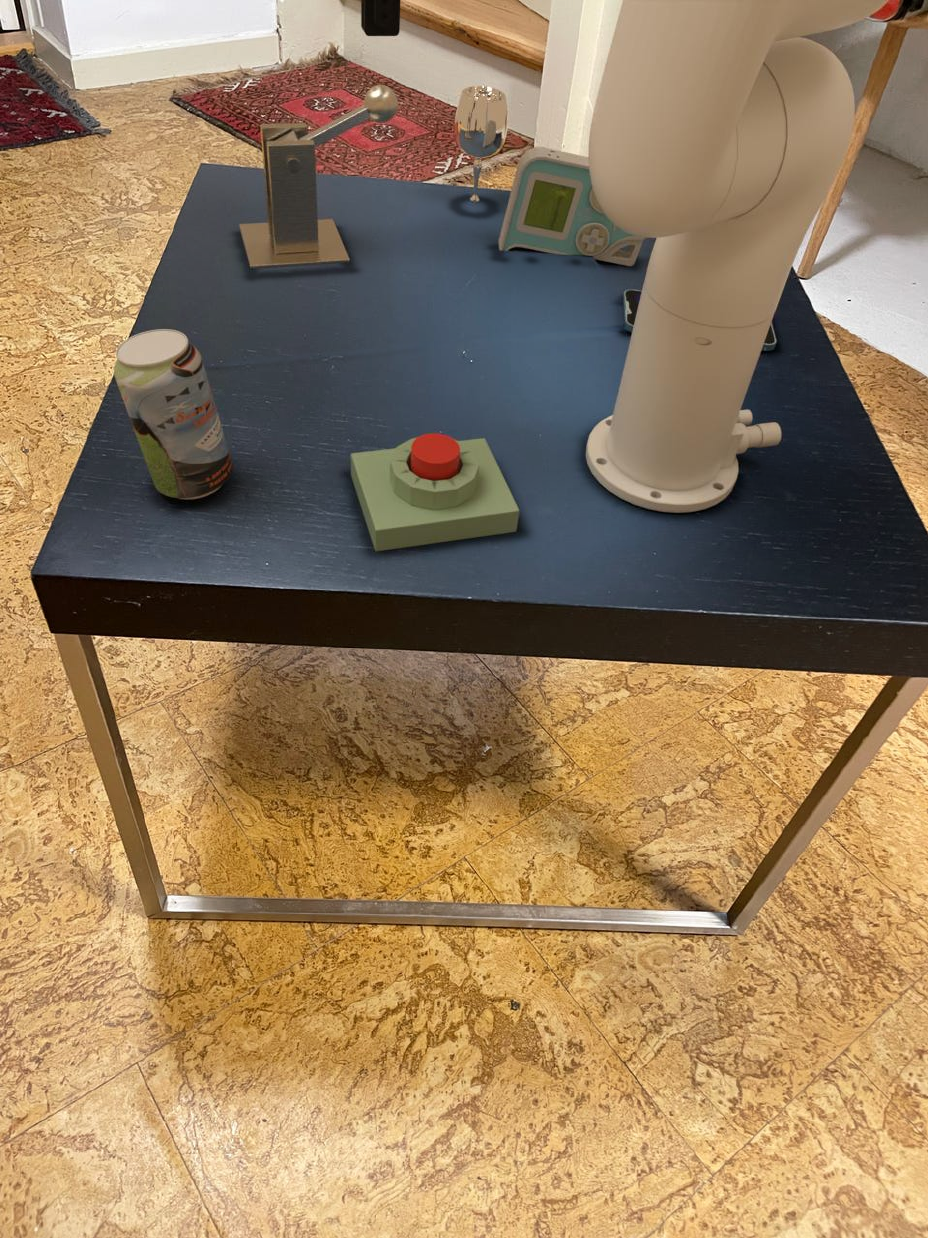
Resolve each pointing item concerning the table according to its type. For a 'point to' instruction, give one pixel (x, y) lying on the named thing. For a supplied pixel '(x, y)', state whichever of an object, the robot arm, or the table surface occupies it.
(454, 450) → the button
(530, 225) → the handheld gaming console
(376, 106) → the tap lever
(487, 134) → the wineglass
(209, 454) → the beverage can
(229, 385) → the table surface
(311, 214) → the lever stand
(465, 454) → the button box
